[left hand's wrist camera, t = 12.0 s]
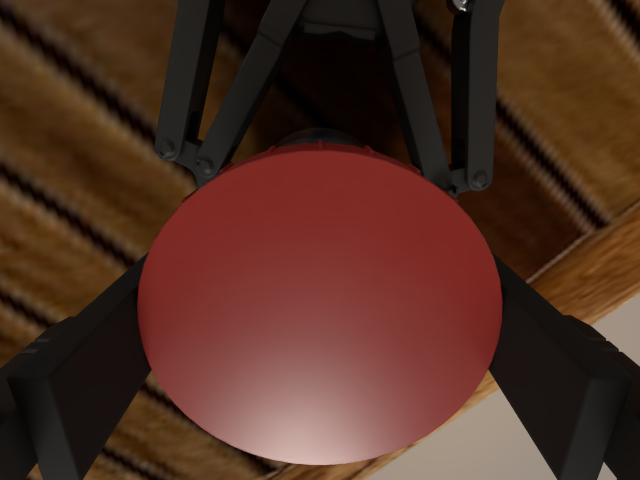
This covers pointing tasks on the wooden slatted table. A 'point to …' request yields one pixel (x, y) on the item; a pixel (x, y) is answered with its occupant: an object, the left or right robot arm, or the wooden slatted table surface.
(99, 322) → the left robot arm
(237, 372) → the lid
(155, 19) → the wooden slatted table surface
